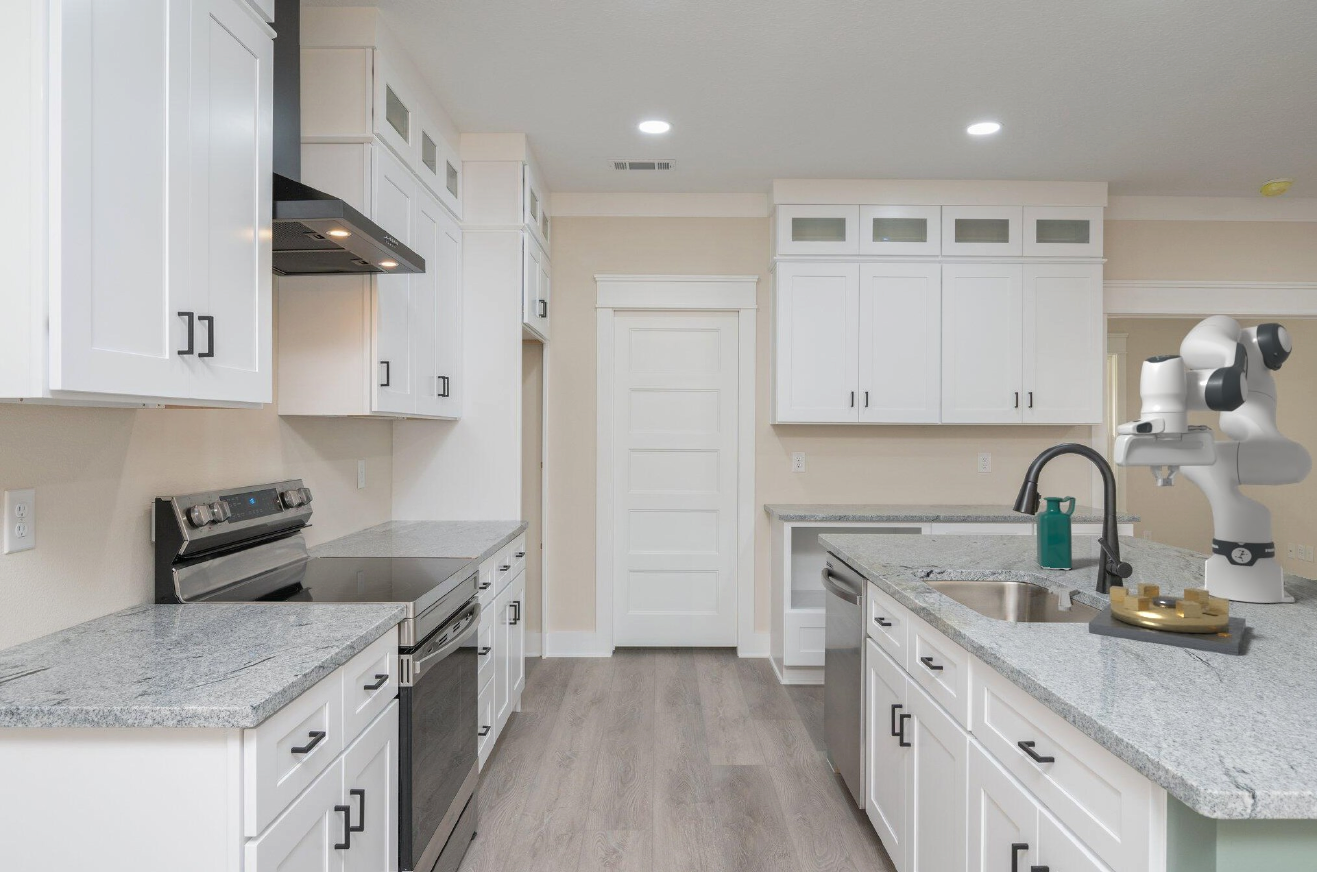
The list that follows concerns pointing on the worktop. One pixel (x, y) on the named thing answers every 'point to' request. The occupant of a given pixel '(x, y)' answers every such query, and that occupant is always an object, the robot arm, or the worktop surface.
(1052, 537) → the pitcher
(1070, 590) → the adjustable wrench
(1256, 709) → the worktop surface
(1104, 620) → the base plate
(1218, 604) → the ring nut
